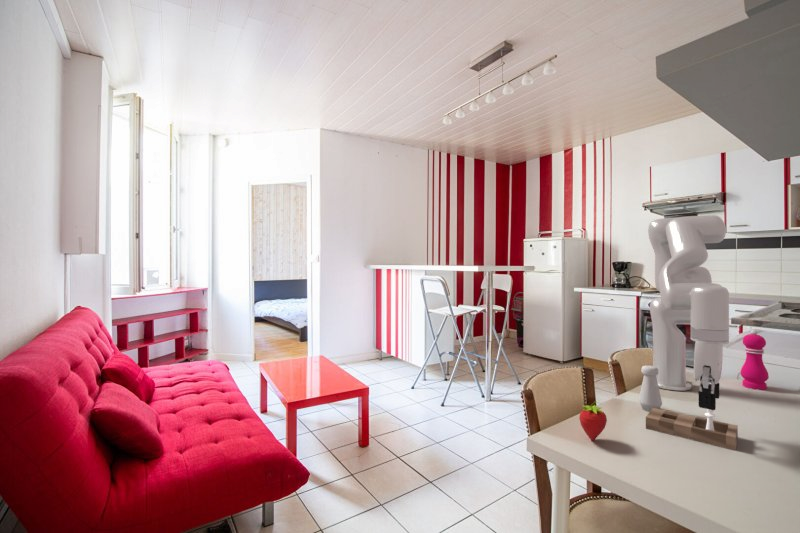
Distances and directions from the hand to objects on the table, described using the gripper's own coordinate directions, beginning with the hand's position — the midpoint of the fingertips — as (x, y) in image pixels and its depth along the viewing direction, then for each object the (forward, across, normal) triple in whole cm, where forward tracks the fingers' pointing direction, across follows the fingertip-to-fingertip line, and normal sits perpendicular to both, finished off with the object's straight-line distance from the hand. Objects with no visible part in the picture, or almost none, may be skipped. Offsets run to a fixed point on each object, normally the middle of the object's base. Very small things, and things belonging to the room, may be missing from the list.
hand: (709, 402), depth 97 cm
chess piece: (+9, +1, 0) cm, 9 cm away
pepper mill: (+10, -58, +7) cm, 60 cm away
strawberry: (+8, +22, -21) cm, 31 cm away
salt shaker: (+9, -11, -15) cm, 20 cm away
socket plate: (+9, +1, -4) cm, 9 cm away
